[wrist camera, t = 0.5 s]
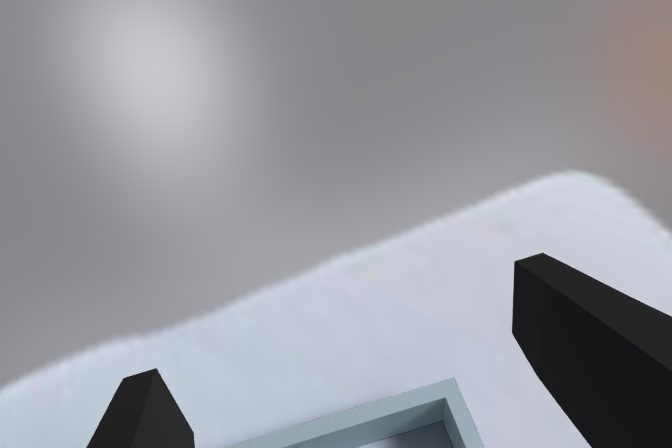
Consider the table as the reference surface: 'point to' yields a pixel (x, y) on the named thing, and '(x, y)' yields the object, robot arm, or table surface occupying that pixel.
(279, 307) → the table surface
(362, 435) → the tray
